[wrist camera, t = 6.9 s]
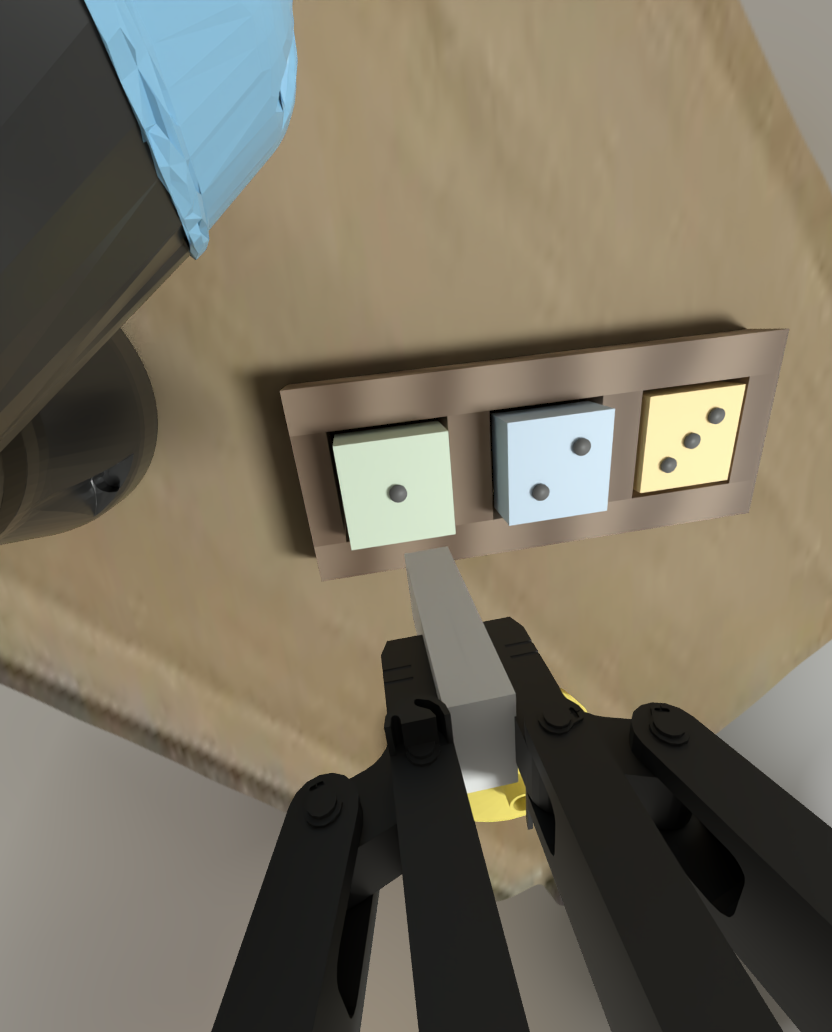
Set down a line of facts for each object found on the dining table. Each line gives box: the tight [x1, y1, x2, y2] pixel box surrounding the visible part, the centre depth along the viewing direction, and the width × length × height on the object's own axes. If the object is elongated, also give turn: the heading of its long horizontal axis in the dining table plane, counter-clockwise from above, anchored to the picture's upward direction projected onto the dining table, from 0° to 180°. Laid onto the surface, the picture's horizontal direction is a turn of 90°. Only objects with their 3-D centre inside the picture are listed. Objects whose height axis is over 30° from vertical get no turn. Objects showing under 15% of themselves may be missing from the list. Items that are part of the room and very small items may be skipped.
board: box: [280, 329, 789, 581], centre depth 29 cm, size 30×12×3 cm, turn 96°
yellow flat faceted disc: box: [467, 688, 587, 822], centre depth 37 cm, size 16×16×7 cm
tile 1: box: [333, 421, 456, 550], centre depth 26 cm, size 6×6×3 cm
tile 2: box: [491, 401, 615, 526], centre depth 27 cm, size 6×6×3 cm
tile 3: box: [633, 381, 746, 493], centre depth 29 cm, size 6×6×3 cm
